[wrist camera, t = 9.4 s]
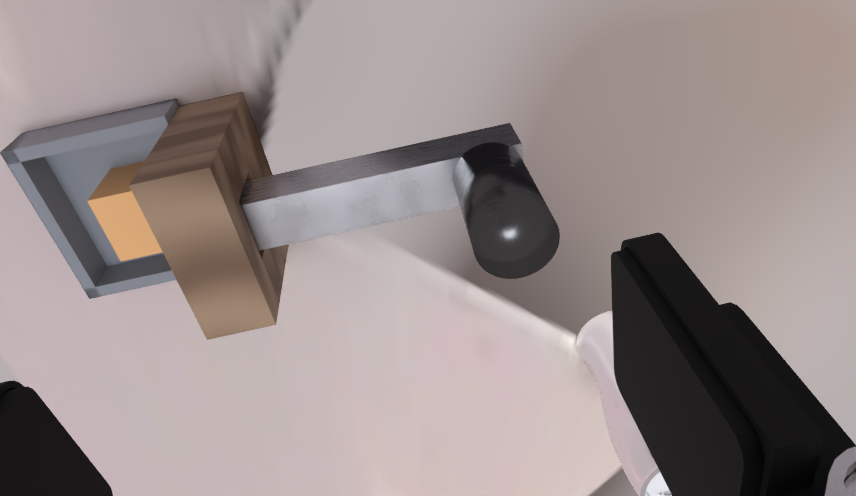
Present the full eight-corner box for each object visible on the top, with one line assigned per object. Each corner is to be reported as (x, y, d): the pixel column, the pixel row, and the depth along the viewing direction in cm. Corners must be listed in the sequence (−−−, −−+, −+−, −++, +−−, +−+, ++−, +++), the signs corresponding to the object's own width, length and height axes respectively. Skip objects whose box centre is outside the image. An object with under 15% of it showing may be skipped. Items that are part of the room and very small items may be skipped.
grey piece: (187, 186, 37) (138, 287, 29) (508, 114, 37) (555, 195, 28) (212, 242, 39) (175, 352, 31) (516, 176, 39) (562, 268, 30)
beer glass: (610, 378, 57) (683, 531, 44) (553, 347, 54) (615, 500, 42) (667, 327, 54) (763, 473, 42) (611, 291, 51) (696, 436, 39)
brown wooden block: (180, 106, 40) (128, 185, 31) (242, 92, 40) (209, 167, 31) (236, 238, 45) (207, 339, 36) (291, 226, 45) (275, 324, 36)
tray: (22, 133, 40) (-1, 152, 37) (176, 98, 40) (164, 116, 37) (103, 273, 46) (89, 298, 43) (238, 244, 46) (231, 267, 43)
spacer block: (177, 153, 41) (110, 168, 41) (159, 184, 37) (86, 200, 37) (202, 212, 43) (140, 225, 44) (189, 246, 40) (120, 261, 40)
